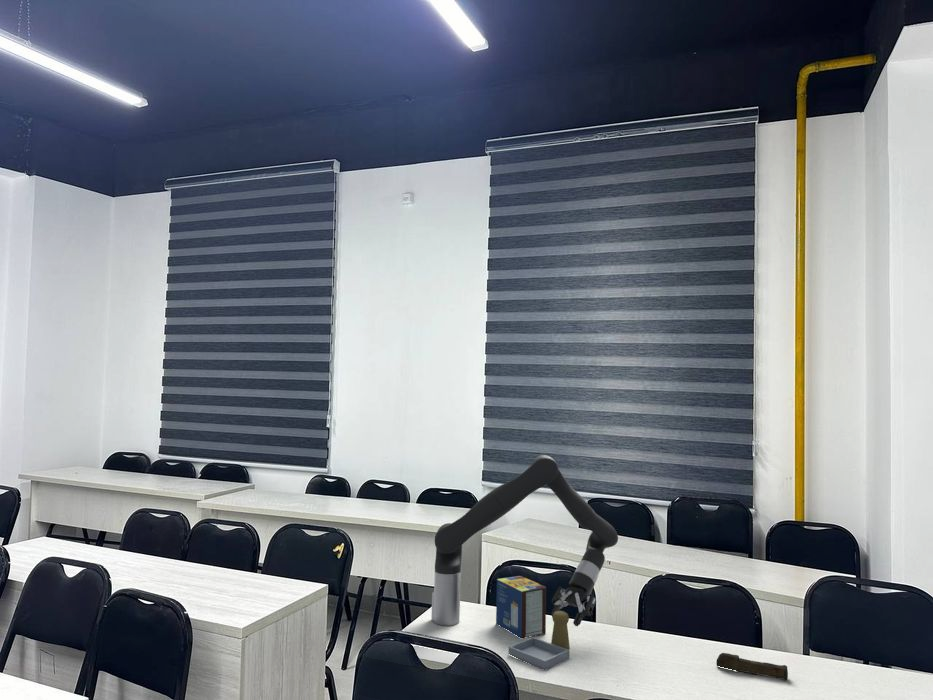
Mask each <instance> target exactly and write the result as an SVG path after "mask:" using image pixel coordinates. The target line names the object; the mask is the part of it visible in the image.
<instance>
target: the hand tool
mask: <svg viewBox="0 0 933 700" xmlns="http://www.w3.org/2000/svg"><path fill="white" fill-rule="evenodd" d="M717 666H720V667H724V668H728V669H732V670H736V671H738V672H744V671H745V672H744V673H749V672H750V673H749V674H757V675H760V676H765V675H766V676H767V677H770V676H771V678H775V677H776V678H775V679H781V680H782V679H783V680H784V681H785V680H787V681H788V679H789V671H788V666H787V665H786V664H783V665H780V664H774V663H770V662H761V661H756V660H750V659H746V658H741V657H740V656H739V655H737V654H731V653H727V652H721V653H719V655H718V657H717V658H716V667H717Z"/></svg>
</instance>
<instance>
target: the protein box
mask: <svg viewBox="0 0 933 700" xmlns="http://www.w3.org/2000/svg"><path fill="white" fill-rule="evenodd" d="M495 601H496V604H495V605H496V611H495V613H496V615H495V625H497V624H498V625H500V626H501V627H500V626H499V627H500V628H502V627H503V628H505V629H507V630H509V631H510V632H512V633H513V634H515V635H517V636H518V637H520V638H523V639H526V638H525V637H528V638H530V637H529V636H532V637H536V636H535V635H537V636H541V635H540V634H542V635H545V633H546V632H547V631H546V630H547V626H546V624H547V621H546V619H547V614H546V613H547V587H546V586H545V585H542V584H540V583H538V582H536V581H533V580H531V579H529V578H527V577H524V576H522V575H516V576H515V575H514V576H509V577H502V578H497V579H496V600H495ZM498 625H497V626H498ZM503 628H502V629H503ZM505 629H504V630H505ZM507 630H506V631H507ZM510 632H509V633H510ZM512 633H511V634H512ZM513 634H512V635H513ZM515 635H514V636H515ZM517 636H516V637H517ZM518 637H517V638H518ZM520 638H519V639H520Z"/></svg>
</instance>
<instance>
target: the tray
mask: <svg viewBox="0 0 933 700" xmlns="http://www.w3.org/2000/svg"><path fill="white" fill-rule="evenodd" d="M508 654H510V655H512V656H514V657H516V658H518V659H520V660H522V661H521V662H523V661H525V662H527V663H526V664H528V663H529V664H528V665H530V664H531V665H530V666H532V667H535V668H538V669H540V670H543V671H548V670H549V669H551V668H554V667H555V666H558V665H560V664H562V663H564V662H566V661H568V660H570V650H568V649H565V648H562V647H559V646H557V645H554V644H551V642H548V641H546V640H543V639H540V638H537V637H536V636H532V637H528V638H526V639H524V640H522V641H521V642H517V643H514V644H512V645H510V646H508ZM518 659H517V660H518ZM520 660H519V661H520ZM525 662H524V663H525Z"/></svg>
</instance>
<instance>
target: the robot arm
mask: <svg viewBox="0 0 933 700" xmlns="http://www.w3.org/2000/svg"><path fill="white" fill-rule="evenodd" d="M544 486H547V487H548V488H549V489H550V490H551V491H552V492H553V493H554V495H556V497H557V498H558V499H559V500H560V502H561V503H562V505H563V506H564V507H565V508H566V510H567V512H568V513H569V514H570V515H571V516H572V518H573V519H574V520H575V521H576V523H577V524H578V525H579V526H580V527H581V528H582V529H584V530H589V531H591V533H590V535H589V537H588V539H587V544H586V548H585V552H584V554H583V556H582V557H581V560H580V562H579V563H578V565H577V566H576V569H575V570H574V573H573V575H572V577H571V579H570V581H569V582H568V586H567V589H565V588H563V587H562V586H558V588H557V590H556V591H555V593H554V594H553V597H552V599H551V603H552V604H553V605H554V607H553V609H552V610H551V617H552V616H553V613H554V612H556V611H561V609H563V608H564V607H567V606H568V605H569V606H572V607H575V608H578V612H577V613H576V614H575V617H574V620H572V621H573V622H572V623H573V625H574V626H575V627H579V626H580V625H581V623H582V621H583V619H584V617H585V616H587V617H591V615H592V613H593V611H594V608H595V605H596V603H597V600H596V597H594V595H591V594H592V591H593V589H594V587H595V585H596V583H597V581H598V579H599V575H600V572H601V570H602V568H603V565H604V563H605V560H606V556H605V554H604V551H605V550H606V549H607V548H612V547H615V545H617V544H618V540H619V534H618V532H617V529H615V528H614V526H613V525H612V524H610V523H609V522H608V521H607V520H605V518H602V517H601V516H600V515H599V514H597V513H596V512H595V510H594V509H593V507H591V506H590V504H589V503H588V502H587V501H586V500H585V499H584V498H583V496H581V495H580V493H578V492H577V491H576V490H575V488H574V487H573V486H572V485H571V484H570V482H568V481H567V479H566V478H565V477H564V475H563V474H562V472H561V471H560V469H559V465H558V464H557V462H556V459H554V458H553V457H551V456H550V455H547V454H541V455H538V456H536V457H535V458H534V459H533V460H532V462H531V465H530V466H529V467H528V468H527V469H526V470H525V471H523V472H522V473H521V474H519V475H518V476H516V477H515V478H513V479H511V480H509V481H507V482H505V483H502V484H501V485H498V486H497V487H495V488H493V490H491V491H490V492H487V494H486V495H483V497H482V498H480V499H479V500H478V501H477V502H476V503H475V504H474V505H473V506H472V507H471V508H470V509H469V510H468V511H467V512H466V513H465V514H464V515H462V516H461V517H460V518H458V519H457V520H455V521H453V522H452V523H449V522H447V523H444V524H442V525H441V526H439V527H438V530H437V531H436V533H435V536H434V545H435V548H436V549H435V559H434V560H435V561H434V583H433V585H434V588H433V589H434V591H432V593H431V618H430V619H431V621H433V622H434V624H436V625H439V626H454V625H457V624H459V623H460V614H461V613H460V611H461V609H460V608H461V579H462V578H461V577H462V576H461V572H462V571H461V569H462V555H463V554H462V553H463V545H464V544H465V543H466V542H467V541H468V540H470V538H472V537H473V536H474V535H475V534H476V533H479V532H480V531H481V530H483V529H485V528H487V527H488V526H490V525H492V524H493V523H495V522H497V521H498V520H499V519H501V518H502V517H503V516H504V515H506V514H508V513H509V512H510V511H511V510H512V509H515V507H516V506H518V505H519V504H520V503H521V502H523V500H525V499H526V498H527V497H528V496H530V495H531V494H532V493H533V492H535V491H538V490H540V489H541V488H542V487H544ZM565 600H566V601H565ZM585 603H586V606H585Z"/></svg>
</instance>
